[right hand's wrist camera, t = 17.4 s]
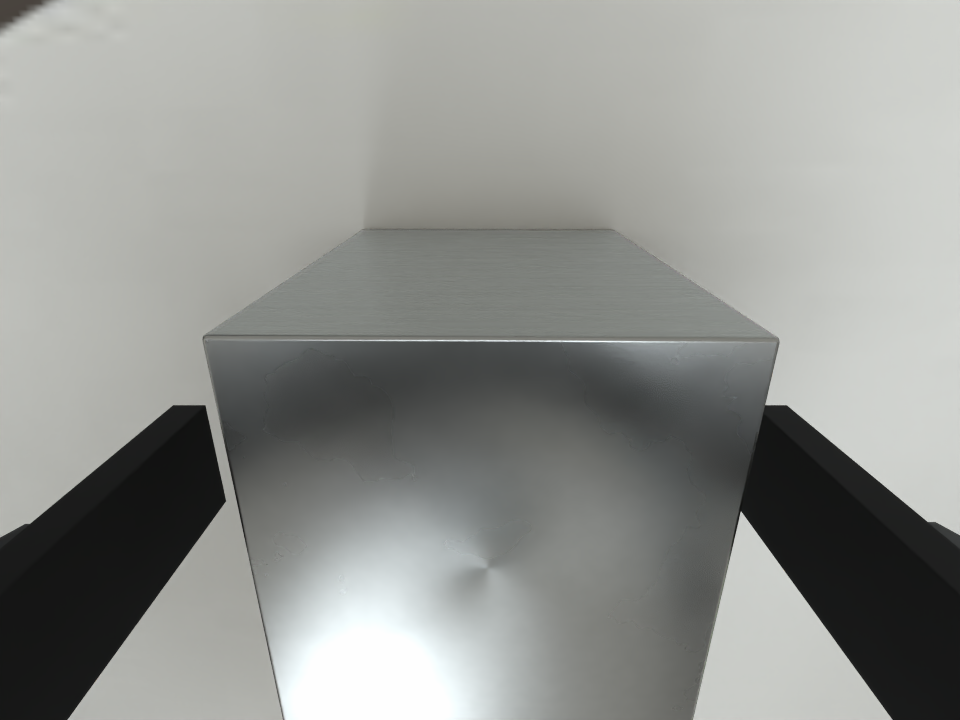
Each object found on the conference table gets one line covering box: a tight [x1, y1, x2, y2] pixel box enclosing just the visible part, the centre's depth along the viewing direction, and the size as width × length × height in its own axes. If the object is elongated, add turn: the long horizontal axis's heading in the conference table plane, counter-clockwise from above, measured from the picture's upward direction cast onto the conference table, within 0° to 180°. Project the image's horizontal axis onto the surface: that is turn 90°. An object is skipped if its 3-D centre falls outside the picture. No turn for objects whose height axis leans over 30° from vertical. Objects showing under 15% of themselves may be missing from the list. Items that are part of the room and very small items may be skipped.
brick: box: [203, 229, 779, 720], centre depth 14 cm, size 8×9×11 cm
